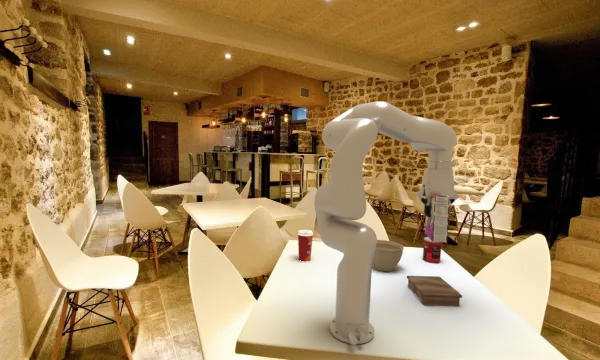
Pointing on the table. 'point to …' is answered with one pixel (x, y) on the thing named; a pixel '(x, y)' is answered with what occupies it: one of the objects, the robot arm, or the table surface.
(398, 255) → the planter bowl
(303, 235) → the paper cup
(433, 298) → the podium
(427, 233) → the candy bar box
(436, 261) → the canned food
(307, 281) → the table surface
